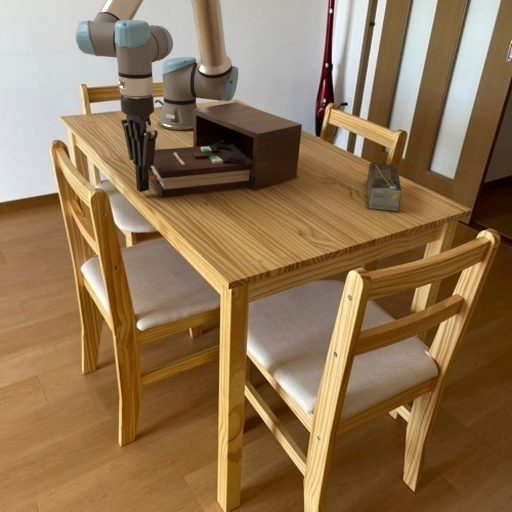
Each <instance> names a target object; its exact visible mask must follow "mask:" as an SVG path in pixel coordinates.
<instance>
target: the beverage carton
mask: <svg viewBox="0 0 512 512" xmlns="http://www.w3.org/2000/svg"><path fill="white" fill-rule="evenodd" d="M401 185H402V184H401V180H400V175H399V169H398V165H397V164H391V163H390V164H389V163H383V162H382V163H379V162H370V163H369V166H368V172H367V177H366V190H367V202H368V208H369V209H373V210H374V209H375V210H383V211H391V212H398V210H399V207H400V202H401V199H402V186H401Z"/></svg>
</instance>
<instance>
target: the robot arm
mask: <svg viewBox="0 0 512 512" xmlns="http://www.w3.org/2000/svg"><path fill="white" fill-rule="evenodd" d="M190 1H191V7H192V15H193V20H194V26H195V34H196V38H197V39H196V40H197V45H198V51H199V56H200V58H199V59H198V60H197V58H196V57H194V56H193V57H192V56H181V57H173V58H172V57H171V58H168V59H166V60H164V59H165V58H166V57H168V56H169V55H170V54H171V53H172V52H173V51H172V50H173V47H174V41H173V37H172V35H171V33H170V32H169V30H168V29H167V28H165V27H164V26H162V25H154V24H151V25H150V24H149V23H148V22H147V21H145V20H140V19H134V18H135V17H136V15H137V13H138V11H139V9H140V8H141V6H142V4H143V2H144V0H105V1H104V3H102V6H101V8H100V9H99V11H98V12H97V14H96V16H95V18H94V19H93V20H90V19H89V20H82V21H80V22H79V23H78V24H77V25H76V28H75V33H74V34H75V42H76V44H77V47H78V49H79V50H80V51H81V52H82V53H83V54H86V55H90V56H96V57H105V58H116V63H117V75H118V82H117V85H118V87H119V93H120V94H121V95H120V97H119V99H120V100H119V101H120V110H121V113H123V114H124V115H125V119H121V120H120V123H121V126H122V129H123V133H124V137H125V144H126V148H127V154H128V158H129V161H132V164H133V165H134V167H135V182H136V191H138V192H139V193H142V192H145V191H149V190H150V179H149V173H148V167H150V166H153V165H154V154H155V150H156V142H157V138H158V135H159V132H158V130H153V128H152V121H151V118H150V117H151V115H152V114H153V113H154V112H155V104H157V103H159V104H160V105H161V106H162V108H161V112H160V116H159V122H158V123H159V126H160V127H161V128H163V129H166V130H172V131H193V109H196V108H198V105H197V99H202V100H203V99H204V100H212V101H218V102H230V101H232V100H233V98H234V96H235V94H236V91H237V87H238V81H239V69H238V67H237V66H235V65H233V63H232V60H231V57H229V56H228V55H227V52H226V51H227V49H226V42H225V31H224V23H223V14H222V5H221V0H190ZM162 60H164V61H163V62H162V72H161V76H162V93H163V102H162V101H161V100H160V99H156V100H155V99H154V96H153V94H154V79H153V64H152V63H155V62H158V61H162Z"/></svg>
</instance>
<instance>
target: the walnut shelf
mask: <svg viewBox="0 0 512 512" xmlns="http://www.w3.org/2000/svg"><path fill="white" fill-rule="evenodd" d="M302 127H303V124H302V123H299V122H296V121H294V120H290V119H288V118H284V117H281V116H278V115H275V114H273V113H270V112H267V111H264V110H261V109H257V108H255V107H252V106H249V105H246V104H243V103H240V102H237V101H235V102H228V103H222V104H216V105H208V106H204V107H197V108H196V109H193V129H192V132H193V133H192V137H193V139H192V140H193V141H192V143H193V145H192V147H198V146H209V145H214V143H219V142H218V141H224V142H223V143H220V144H233V145H234V146H235V147H236V148H237V149H239V150H240V151H241V152H242V153H243V154H244V155H245V156H246V157H248V158H249V159H250V160H251V161H252V162H253V163H252V170H251V171H252V174H251V179H252V180H251V187H250V189H252V190H253V191H256V190H260V189H262V188H265V187H269V186H273V185H275V184H279V183H282V182H286V181H289V180H292V179H296V178H297V176H298V175H297V174H298V165H299V156H300V147H301V138H302V129H303V128H302Z"/></svg>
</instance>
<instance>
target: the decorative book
mask: <svg viewBox="0 0 512 512" xmlns="http://www.w3.org/2000/svg"><path fill="white" fill-rule="evenodd" d="M218 142H219V143H214V145H209V146H198V147H193V146H187V147H185V146H184V147H174V148H173V147H172V148H161V149H155V154H154V165H153V166H150V167H148V173H149V180H150V179H151V181H152V182H153V184H154V186H155V188H156V190H157V191H158V193H159V194H160V196H161V197H162V198H166V197H175V196H176V197H177V196H181V195H182V196H184V195H185V196H186V195H193V194H203V193H209V192H210V193H211V192H219V191H229V190H230V191H231V190H237V189H247V188H251V180H252V177H250V175H252V163H253V160H250V159H249V158H248V157H246V156H245V155H244V154H243V153H242V152H241V151H240V150H239V149H237V148H236V147H235V146H234V145H233V144H220V143H223V142H224V141H218Z"/></svg>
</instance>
